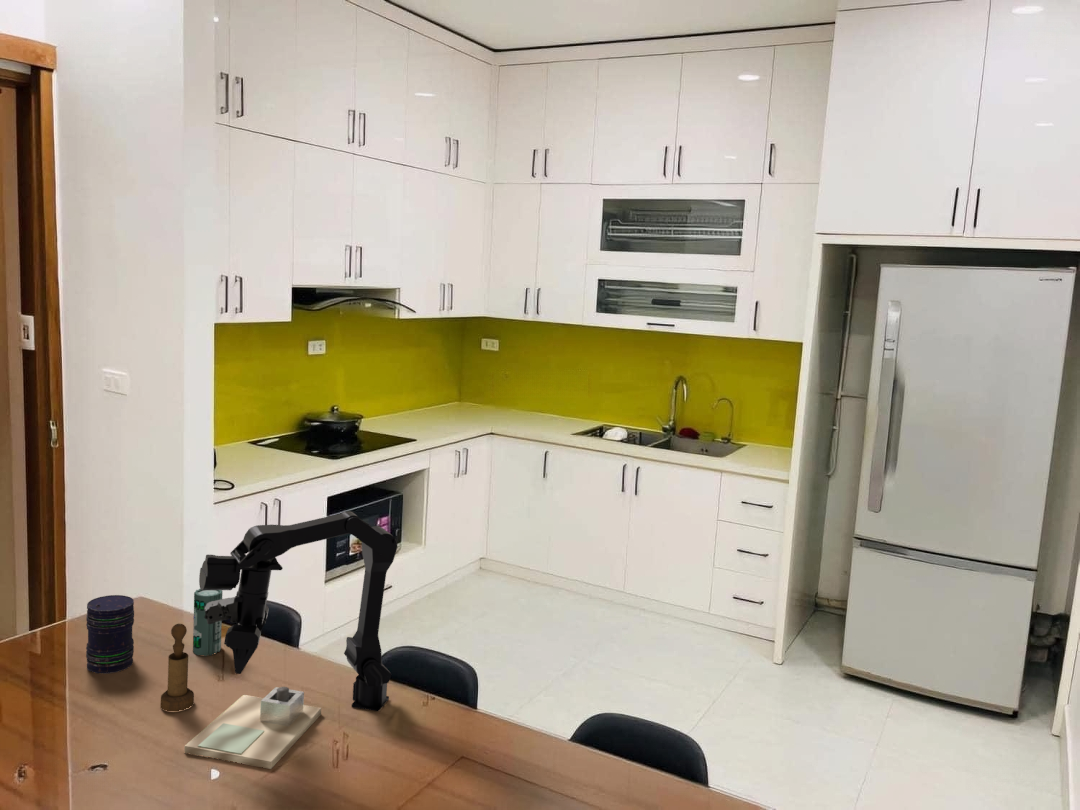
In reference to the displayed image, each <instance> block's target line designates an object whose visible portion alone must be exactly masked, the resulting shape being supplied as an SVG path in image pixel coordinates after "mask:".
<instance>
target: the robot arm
mask: <svg viewBox="0 0 1080 810" xmlns="http://www.w3.org/2000/svg"><path fill="white" fill-rule="evenodd" d="M344 535H345V536H346V535H351V536H353V537H355V538H356V539H357V540H359V541H360V542H361V554H362V559H363V564H364V575H363V583H362V590H361V591H362V592H361V598H360V604H359V605H360V607H359V614H358V621H357V629H356V631H355V633H354V635H353V636H352V637H351V636H347V637H346V642H345V643H346V647H345V650H344V652H343V654H344V655H345V657H346V660H347V662H348V664H349V665H350V666H351V667H352V669H353V670H354V671H355V672H356V673H357V676H355V681H354V682H353V683H352V684H353V687H352V700H353V702H352V703H351V708H354V709H355V708H356V709H362V710H366V711H374V712H380V711H381V710H382V709H383V708H384V706H385V705H386V703H387V702H388V701H389V699H390V696H388V695H387V690H388V684H389V682H390V680H391V678H392V675H393V674H392V673H391V672H390V670H388V668H387V667H386V666H385V665H384V664H383V661H382V659H383V658H382V654H383V653H382V647H381V642H380V637H379V632H380V631H379V630H380V623H381V617H382V616H381V615H382V607H383V600H384V593H385V584H386V578H387V572H388V570H389V569H390V567H391V565H392V564H393V562H394V561H395V557H396V553H397V550H398V540H397V539H396V537H395V536H394V535H393V534H391V533H390V532H388V531H387V530H386V529H385V528H383V527H382V526H377V525H375V526H372V525H370V524H369V523H367V522H366V521H364V520H362V518H360V517H359V516H358V515H357V514H356V513H355V512H354V511H350V510H347V511H344V512H342V513H339V514H338V513H337V514H333V515H328V516H326V517H319V518H316V519H310V520H307V521H303V522H297V523H294V524H288V525H281V524H259V525H254V526H252V527H250V528H248V530H247V531H246V533H245V534H244V536H243V539H242V541H240V543H238V544H237V545H236V546H235V548H234V549H233V550H231V551H230V555H215V554H206V555H205V558H204V559H205V560H203V563H202V565H201V567H200V569H199V577H198V578H199V579H198V582H199V583H198V584H199V589H201V590H222V591H232V590H233V589H236V588H237V586H238V590H237V591H236V595H234V596H233V597H227V598H222V599H221V600H216V601H212V602H209V603H207V605H206V607H205V608H204V610H205V616H204V617H205V619H207V623H208V624H214V623H215V622H218V621H222V622H223V621H227V620H230V622H229V623H233V625H231V626H230V627H229V628H227V631H226V633H225V636H224V643H223V644H224V645H225V646H226V647H227V648H230V650H231V651H232V654H233V666H234V674H236V675H237V674H238V675H241V674H242V673H243V671H244V669H245V668H246V666H247V665H248V662H249V661H250V660H251V658H252V657H253V655H254V653H255V651H256V650H257V649H258V646H259V644H260V639H261V634H262V630H263V628H264V626H265V624H266V622H267V619H268V614H269V609H270V608H269V606H268V605H267V601H268V596H269V586H270V581H271V574H272V571H283V566H282V565H281V564H280V563H279V562H278V559H277V558H278V557H279V556H281V555H283V554H285V553H287V552H288V551H289V550H291V549H294V548H295V547H299V546H302V545H303V546H304V545H306V544H307V545H308V544H311V543H312V544H313V543H316V542H320V541H324V540H327V539H332V538H336V537H340V536H344ZM234 623H235V624H234Z"/></svg>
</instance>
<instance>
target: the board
mask: <svg viewBox="0 0 1080 810" xmlns="http://www.w3.org/2000/svg"><path fill="white" fill-rule="evenodd" d="M289 689H290V688H289V687H288V686H280V687H279V686H278V689H277V701H283V702H288V701H289ZM263 698H264V697H260V696H259V697H258V696H253V695H249V694H248V695H247V694H243V695H242V696H240V697H239V698H238V699H237V700H236V701H235V702H233V703H232V705H230V706H229V707H228V708H226V710H223V712H222V713H221V714H219V715H218V716H217V717H216V718H215V719H214V720H213V721H211V723H209V724H208V725H207V726H205V728H204V729H202V730H201V731H200V732H199V733H198V734H197V735H195V736H194V737H193V738H192V739H190V741H188V742H187V743H186V744H185V745H184V750H183V751H184V752H185V753H184V754H187V753H190V754H189V755H192V754H196V755H195V756H198V755H203V756H210V757H213V758H212V759H214V758H218V759H217V760H219V759H222V760H221V761H225V760H228V761H227V762H230V761H233V762H232V763H235V762H237V763H236V764H241V763H242V764H241V765H243V764H244V765H246V766H252V767H258V768H262V767H263V769H269V770H272V768H274V766H275V765H276V764H277V763H278V762H279V761H280V760H281V759H282V758H283V756H284V755H285V754H286V753H287V752H288V751H289V750H290V749H291V748H292V746H293V745H295V744H296V742H297V741H298V740H300V738H301V737H302V736H303V735H304V734H305V733H306V731H307V730H308V729H309V728H310V727H311V726H312V725H313V724H314V723H315V722H316V721H317V720H318V719H319V717H320V716H322V707H320V706H319V707H318V706H313V705H312V706H311V705H308V704H307V705H306V704H304V705H303V713H302V714H301V715H300V716H299V717H298V718H297V719H296V720H295V721H294V722H293V723H292V724H291V725H290V726H283V725H277V724H272V723H266V722H260V709H261V700H262V699H263ZM203 756H202V757H203ZM281 757H282V758H281Z"/></svg>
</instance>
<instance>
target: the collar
mask: <svg viewBox="0 0 1080 810" xmlns="http://www.w3.org/2000/svg"><path fill="white" fill-rule="evenodd" d="M278 688H279V686H278V687H276V686H275V687H274V688H273V689H272V690H271V691H270V692H269V693H268V694H266V696H264V697H262V698H263V699H262V700H261V709H260V722H266V723H272V724H277V725H283V726H290V725H291V724H292V723H293V722H294V721H295V720H296V719H297V718H298V717H299V716H300V715H301V714H302V713H303V705H305V704H304V703H305V702H304V701H305V700H304V699H305V692H304V691H302V690H295V689H290V688H289V701H288V702H283V701H277V689H278Z"/></svg>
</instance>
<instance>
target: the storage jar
mask: <svg viewBox="0 0 1080 810" xmlns="http://www.w3.org/2000/svg"><path fill="white" fill-rule="evenodd" d="M134 604H135V600H134V599H133V597H131V596H128V595H119V594H113V595H104V596H99V597H95V598H93V599H91V600H89V601H88V602H87V603H86V609H87V610H86V616H85V617H86V625H85V626H86V630H87V643H86V648H85V649H86V652H85V654H86V656H85V657H86V662H87V663H86V669H87V671H89V672H91V671H92V672H91V673H93V672H95V674H99V673H101V674H102V673H103V675H104V674H107V675H108V674H113V673H114V674H115V673H119V672H121V670H122V671H125V670H127V669H129V668H130V667H131V666H132V665H133V664H132V663H134V658H133V657H134V650H135V647H134V645H135V642H134V638H133V626H134V625H135V624H134V623H135V619H134V618H135V610H134V609H135V607H134ZM128 667H129V668H128ZM124 669H125V670H124ZM118 671H119V672H118ZM101 674H100V675H101Z"/></svg>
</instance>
